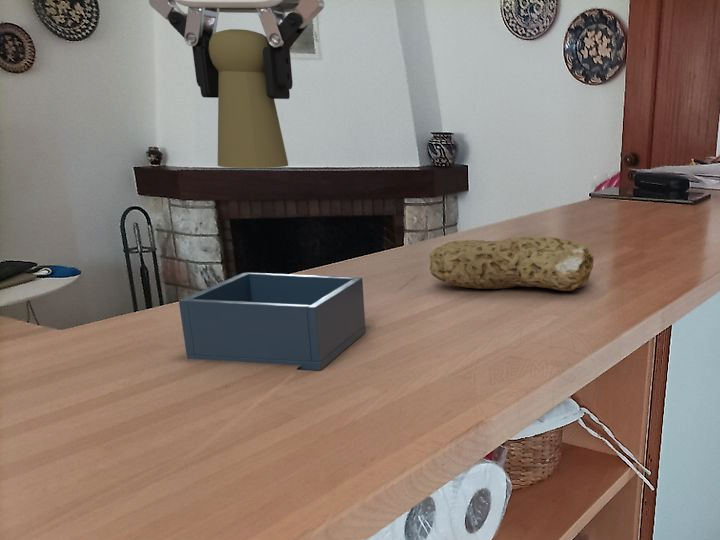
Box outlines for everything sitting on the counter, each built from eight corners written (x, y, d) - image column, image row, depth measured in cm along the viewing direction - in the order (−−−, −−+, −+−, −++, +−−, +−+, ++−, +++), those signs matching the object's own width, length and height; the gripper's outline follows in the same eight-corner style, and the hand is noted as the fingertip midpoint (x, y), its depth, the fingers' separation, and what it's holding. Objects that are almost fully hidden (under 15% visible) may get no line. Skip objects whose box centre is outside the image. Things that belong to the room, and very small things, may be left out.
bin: (187, 362, 71) (178, 300, 69) (250, 326, 83) (244, 272, 81) (320, 370, 70) (315, 307, 68) (365, 332, 81) (362, 277, 79)
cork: (227, 162, 72) (212, 31, 68) (294, 163, 73) (282, 34, 69) (209, 167, 67) (191, 25, 63) (281, 168, 67) (268, 28, 63)
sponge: (590, 291, 107) (456, 251, 110) (602, 238, 102) (462, 198, 106) (562, 332, 96) (415, 286, 100) (574, 275, 92) (420, 229, 95)
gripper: (341, -137, 64) (355, 100, 70) (145, -134, 66) (177, 96, 72) (305, -166, 57) (325, 99, 63) (87, -163, 59) (128, 96, 65)
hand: (246, 95), depth 68 cm, fingers closed on cork, 5 cm apart
